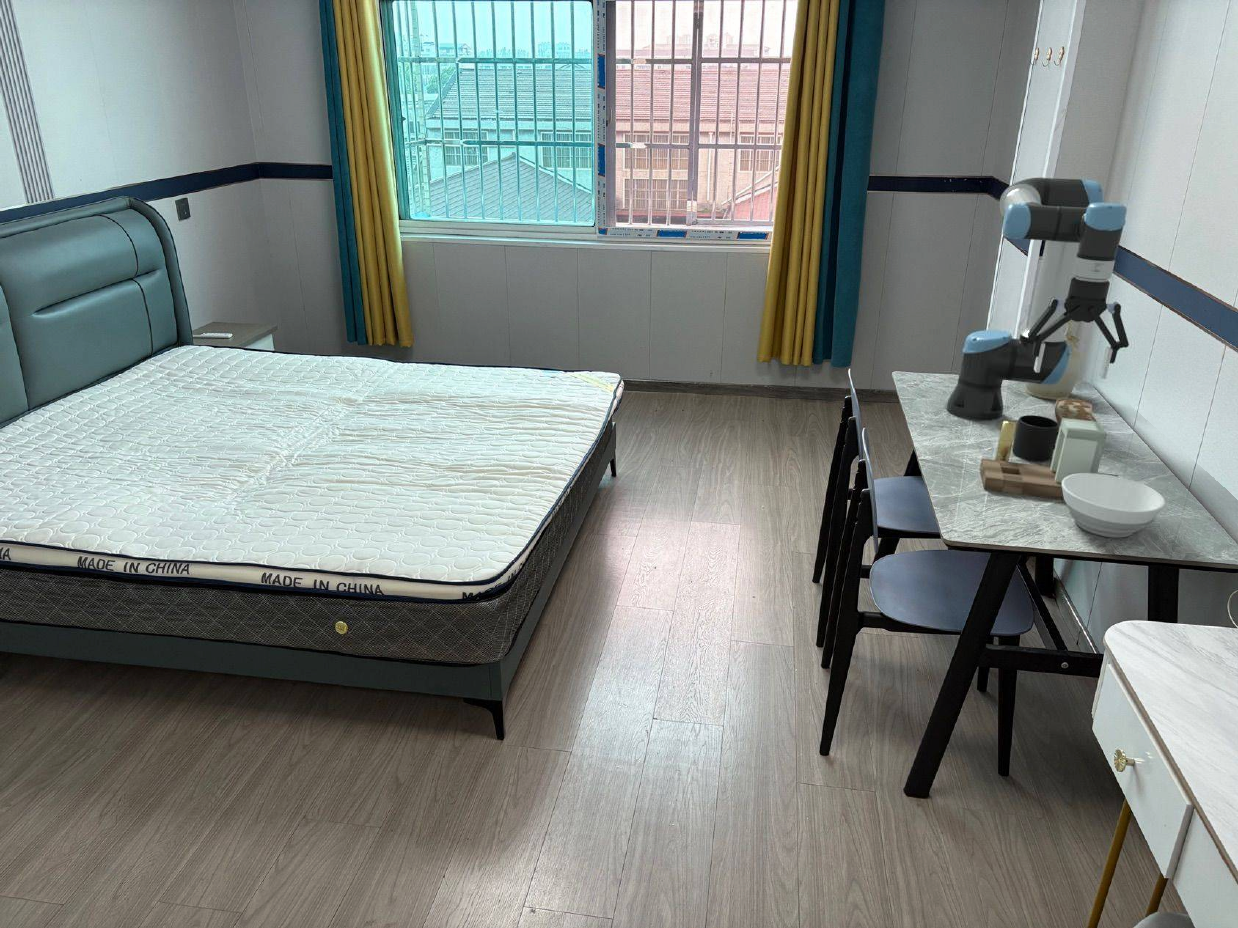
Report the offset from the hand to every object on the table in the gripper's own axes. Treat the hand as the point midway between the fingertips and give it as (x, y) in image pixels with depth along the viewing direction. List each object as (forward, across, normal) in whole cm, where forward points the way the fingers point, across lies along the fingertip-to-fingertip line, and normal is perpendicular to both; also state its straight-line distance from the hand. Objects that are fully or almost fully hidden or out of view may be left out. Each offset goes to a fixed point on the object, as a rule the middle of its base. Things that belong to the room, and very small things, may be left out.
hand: (1069, 374), depth 200 cm
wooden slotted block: (+27, +1, -1) cm, 27 cm away
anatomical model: (+27, +14, +46) cm, 55 cm away
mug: (+27, +2, +20) cm, 34 cm away
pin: (+27, -9, +8) cm, 30 cm away
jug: (+27, +13, +76) cm, 81 cm away
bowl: (+28, +9, -19) cm, 35 cm away
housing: (+24, +5, -1) cm, 24 cm away
